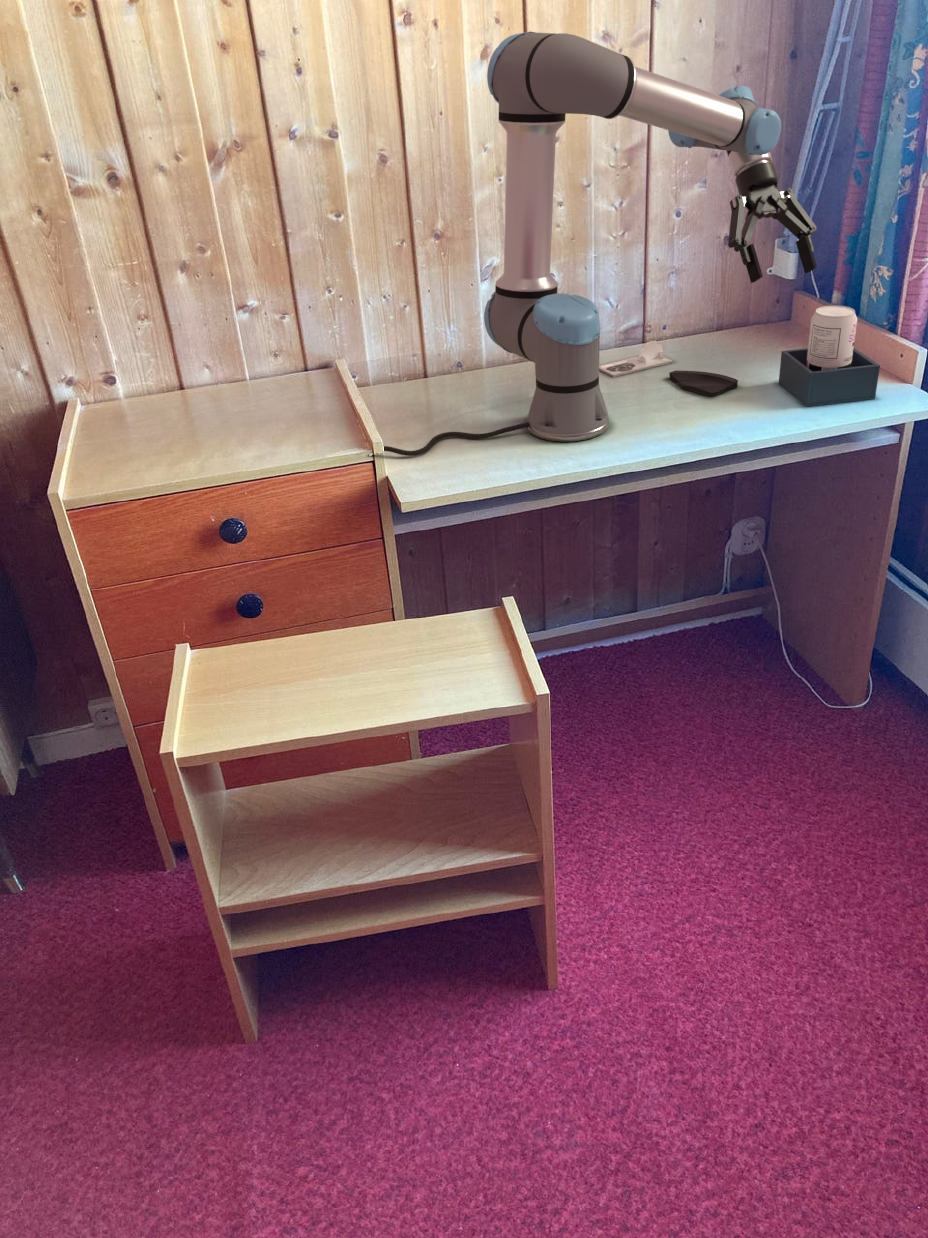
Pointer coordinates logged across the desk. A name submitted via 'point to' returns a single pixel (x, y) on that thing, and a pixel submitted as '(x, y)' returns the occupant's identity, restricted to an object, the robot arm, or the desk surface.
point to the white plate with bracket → (638, 361)
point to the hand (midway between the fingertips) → (784, 275)
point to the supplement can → (831, 338)
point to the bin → (828, 379)
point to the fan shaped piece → (703, 382)
